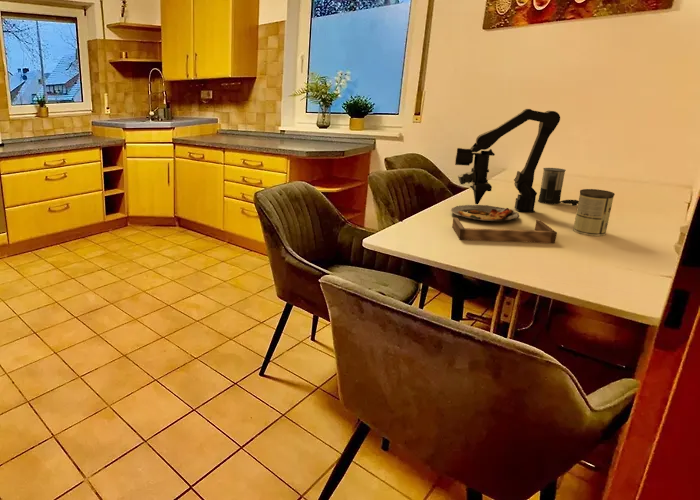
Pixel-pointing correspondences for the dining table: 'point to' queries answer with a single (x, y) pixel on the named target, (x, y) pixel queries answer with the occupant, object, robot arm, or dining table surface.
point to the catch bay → (506, 233)
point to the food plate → (485, 212)
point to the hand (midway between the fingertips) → (476, 204)
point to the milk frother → (553, 187)
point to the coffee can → (593, 212)
